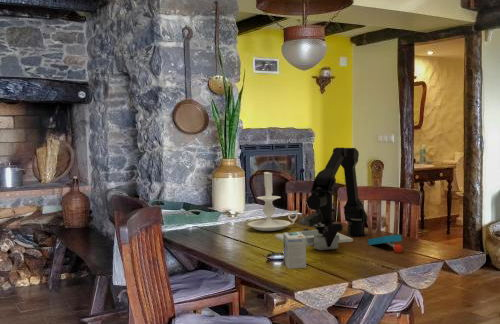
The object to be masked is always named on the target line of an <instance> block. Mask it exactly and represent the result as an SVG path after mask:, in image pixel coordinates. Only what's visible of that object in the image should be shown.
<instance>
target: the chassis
mask: <svg viewBox="0 0 500 324" xmlns="http://www.w3.org/2000/svg"><path fill="white" fill-rule="evenodd" d="M299 232H301V233H302V234H303V235H304V236H305V237H306V247H308V246H314V235H318V231H317V230H316V229H314V230H313V229H312V230H309V228H303V229H302V231H299ZM336 235H337V236H338V244H339V243H350V242H351V243H352V242H354V238H353V237H351V236H349V235H348V236H347V235H344V234H342V233H340V232H339V231H338V232H337V234H336ZM274 238H276V239H277V240H278V241H281V242H283V233H277V234H274Z"/></svg>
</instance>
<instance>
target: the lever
mask: <svg viewBox="0 0 500 324" xmlns="http://www.w3.org/2000/svg"><path fill="white" fill-rule="evenodd" d="M402 241H403V238H402V234H396V235H395V234H393V235H384V236H379V237H375V238H373V237H372V238H369V239H367V243H368V245H369V246H373V245H374V246H375V245H384V244H388V245H389V246H390V247H392V249H393V251H394V252H395V253H397V254H400V253H403V246H402V245H401V244H399V243H398V244H394V243H397V242H402Z"/></svg>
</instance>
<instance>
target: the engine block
mask: <svg viewBox="0 0 500 324" xmlns="http://www.w3.org/2000/svg"><path fill="white" fill-rule="evenodd" d="M313 248H314V249H316V250H318V251H327V250H338V249H339V243H338V236H337V235H336V236H335V238H334V240H333V242H332V244H331V246H330V247H327V241H326V234H325V233H318V235H314V245H313Z"/></svg>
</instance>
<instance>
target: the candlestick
mask: <svg viewBox="0 0 500 324" xmlns="http://www.w3.org/2000/svg"><path fill="white" fill-rule="evenodd" d="M263 180H264V181H263V183H264V191H265V195H262V196H257V197H256V199H258V200H261V201H264V202H265V203H264V205H263V208H262V212H263V215H265V216H266V219H261V220H259V219H257V220H253V221H250V222H248V223H247V225H248V226H249V227H251V228H252V229H255V230H256V231H257V230H258V231H261V232H275V231H281V230H283V229H285V228H287V227H288V226H293V225H294V224H295V221H296V220H297V219H298V217H299V215H298V212H299V210H297V209H296V210H291V211H289V213H288V215H287V216H288V219H289V220H290V221H291V222H290V221H289V220H284V219H273V218H272V216H273V215H274V214H275V211H276V208H275V205H274V204H273V202H274V201H275V200H278V199H281V198H282V197H281V196H278V195H273V193H274V192H273V172H270V171H264V172H263ZM292 213H294V214H295V217H294V218H291V214H292Z"/></svg>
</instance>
